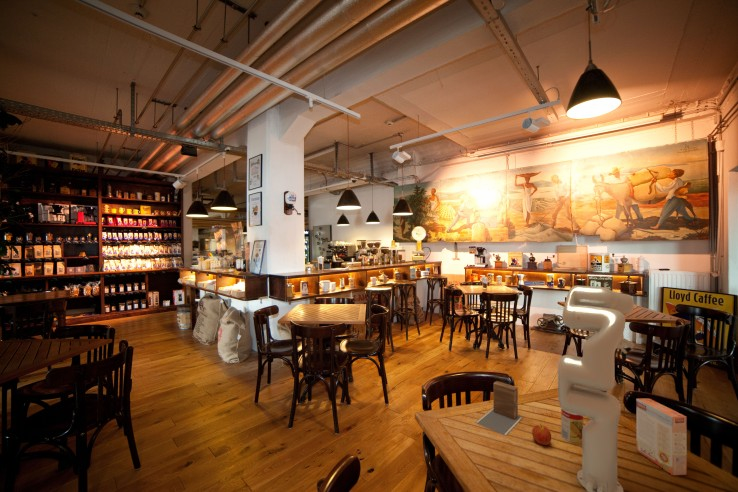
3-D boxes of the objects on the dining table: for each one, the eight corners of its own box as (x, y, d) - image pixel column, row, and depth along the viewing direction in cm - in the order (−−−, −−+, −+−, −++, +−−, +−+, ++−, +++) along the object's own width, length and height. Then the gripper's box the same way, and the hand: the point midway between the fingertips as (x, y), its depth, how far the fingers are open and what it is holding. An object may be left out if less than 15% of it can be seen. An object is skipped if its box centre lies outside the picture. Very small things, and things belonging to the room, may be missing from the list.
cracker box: (688, 475, 110) (687, 416, 110) (672, 476, 109) (671, 416, 109) (649, 450, 124) (649, 397, 124) (635, 450, 123) (635, 397, 123)
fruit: (552, 441, 129) (552, 422, 129) (550, 450, 123) (550, 430, 123) (533, 436, 133) (533, 417, 133) (531, 444, 127) (531, 425, 127)
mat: (506, 436, 132) (506, 435, 132) (475, 423, 142) (475, 422, 142) (523, 418, 146) (523, 417, 146) (493, 407, 156) (493, 406, 156)
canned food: (588, 441, 129) (588, 412, 129) (573, 445, 127) (573, 415, 127) (570, 431, 136) (570, 403, 136) (556, 434, 134) (556, 406, 134)
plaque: (514, 420, 144) (514, 389, 144) (493, 412, 151) (493, 383, 151) (517, 416, 147) (517, 387, 147) (496, 409, 154) (496, 380, 154)
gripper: (584, 319, 141) (584, 357, 140) (635, 325, 130) (635, 366, 130) (585, 316, 147) (585, 353, 146) (633, 321, 136) (633, 361, 136)
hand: (609, 359), depth 138 cm, fingers open, 9 cm apart
